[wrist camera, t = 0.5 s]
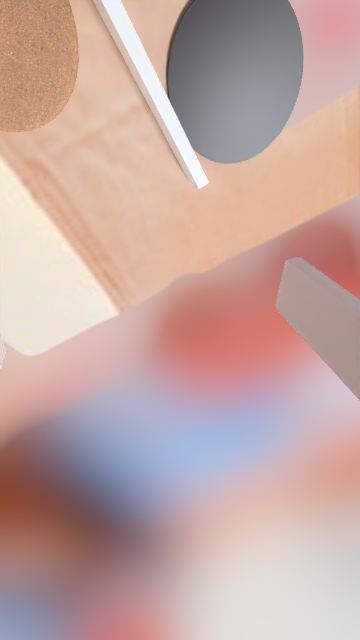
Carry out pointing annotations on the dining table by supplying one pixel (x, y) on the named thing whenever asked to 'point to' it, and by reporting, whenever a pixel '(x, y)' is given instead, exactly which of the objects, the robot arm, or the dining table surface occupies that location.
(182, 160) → the low wall
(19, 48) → the lidded jar
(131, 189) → the dining table surface
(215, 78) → the gray round disc
